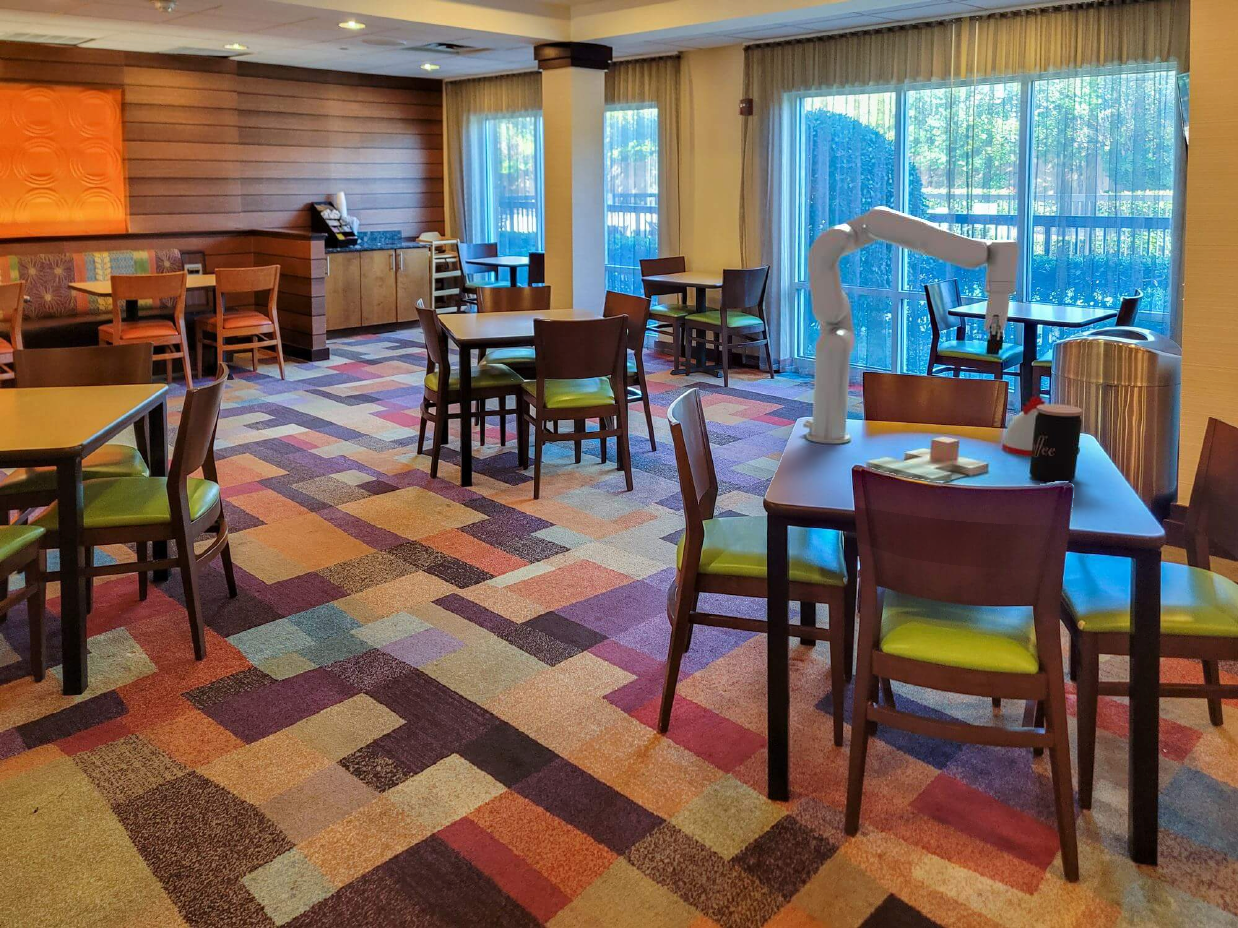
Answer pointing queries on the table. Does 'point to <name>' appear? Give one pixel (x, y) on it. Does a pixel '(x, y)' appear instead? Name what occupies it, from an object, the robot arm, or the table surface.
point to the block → (944, 449)
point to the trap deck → (928, 466)
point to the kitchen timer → (1022, 429)
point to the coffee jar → (1055, 443)
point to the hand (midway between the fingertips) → (994, 352)
